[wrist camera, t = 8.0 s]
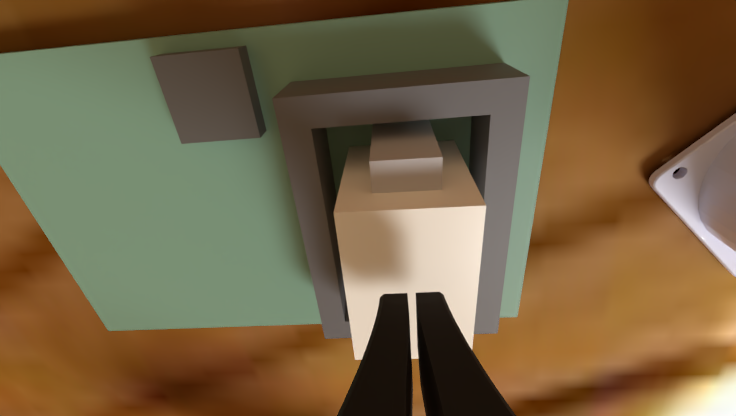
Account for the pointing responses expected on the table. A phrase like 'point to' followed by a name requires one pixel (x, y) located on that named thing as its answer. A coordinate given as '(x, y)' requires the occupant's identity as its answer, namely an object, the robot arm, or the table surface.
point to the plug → (408, 227)
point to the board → (269, 154)
